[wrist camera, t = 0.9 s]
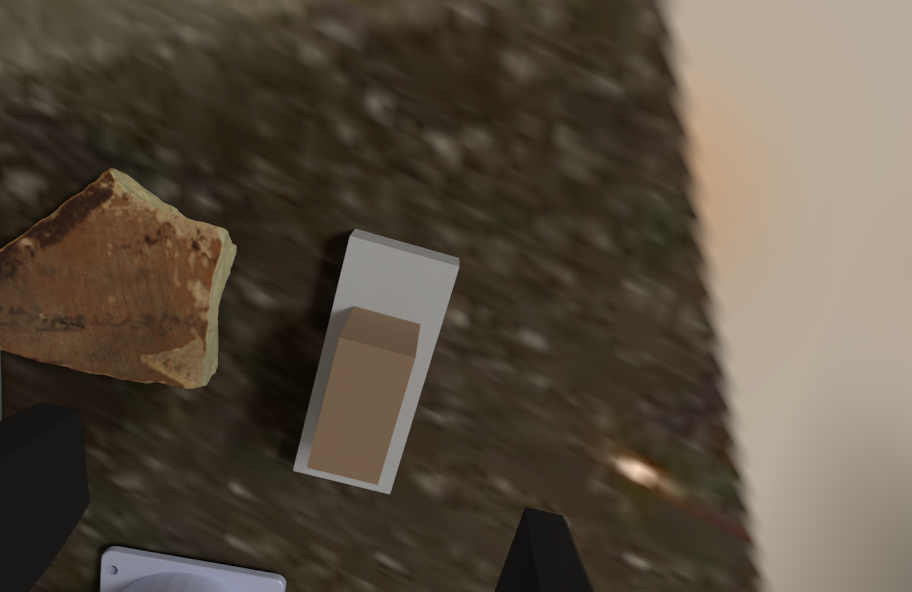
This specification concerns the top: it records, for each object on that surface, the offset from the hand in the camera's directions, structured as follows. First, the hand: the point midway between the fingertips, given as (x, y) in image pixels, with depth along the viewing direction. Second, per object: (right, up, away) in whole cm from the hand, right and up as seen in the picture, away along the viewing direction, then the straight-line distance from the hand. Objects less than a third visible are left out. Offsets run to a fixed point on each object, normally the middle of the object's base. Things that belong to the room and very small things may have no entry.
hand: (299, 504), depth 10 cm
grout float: (-1, +1, +14) cm, 14 cm away
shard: (-10, +3, +13) cm, 17 cm away
